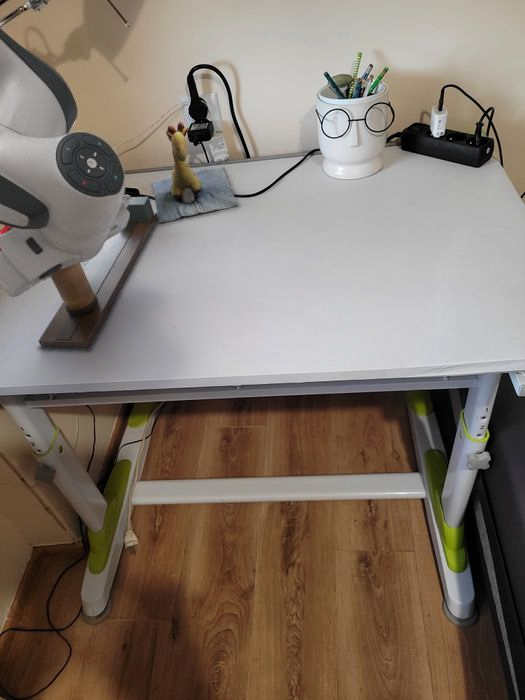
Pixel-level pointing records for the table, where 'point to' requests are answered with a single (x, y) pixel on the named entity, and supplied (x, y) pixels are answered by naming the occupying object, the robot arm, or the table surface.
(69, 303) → the upright wooden cylinder
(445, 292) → the table surface
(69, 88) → the robot arm
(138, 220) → the stop block
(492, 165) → the table surface
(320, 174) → the table surface
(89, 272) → the track board
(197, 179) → the stuffed giraffe
